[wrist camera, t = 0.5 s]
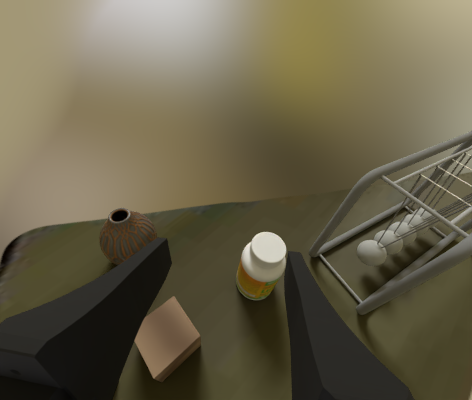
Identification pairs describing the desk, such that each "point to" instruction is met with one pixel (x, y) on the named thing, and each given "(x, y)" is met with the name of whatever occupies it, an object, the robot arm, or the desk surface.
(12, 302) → the desk surface
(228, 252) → the desk surface
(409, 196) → the newton's cradle
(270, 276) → the supplement bottle
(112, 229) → the vase
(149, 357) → the walnut cube
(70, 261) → the desk surface
